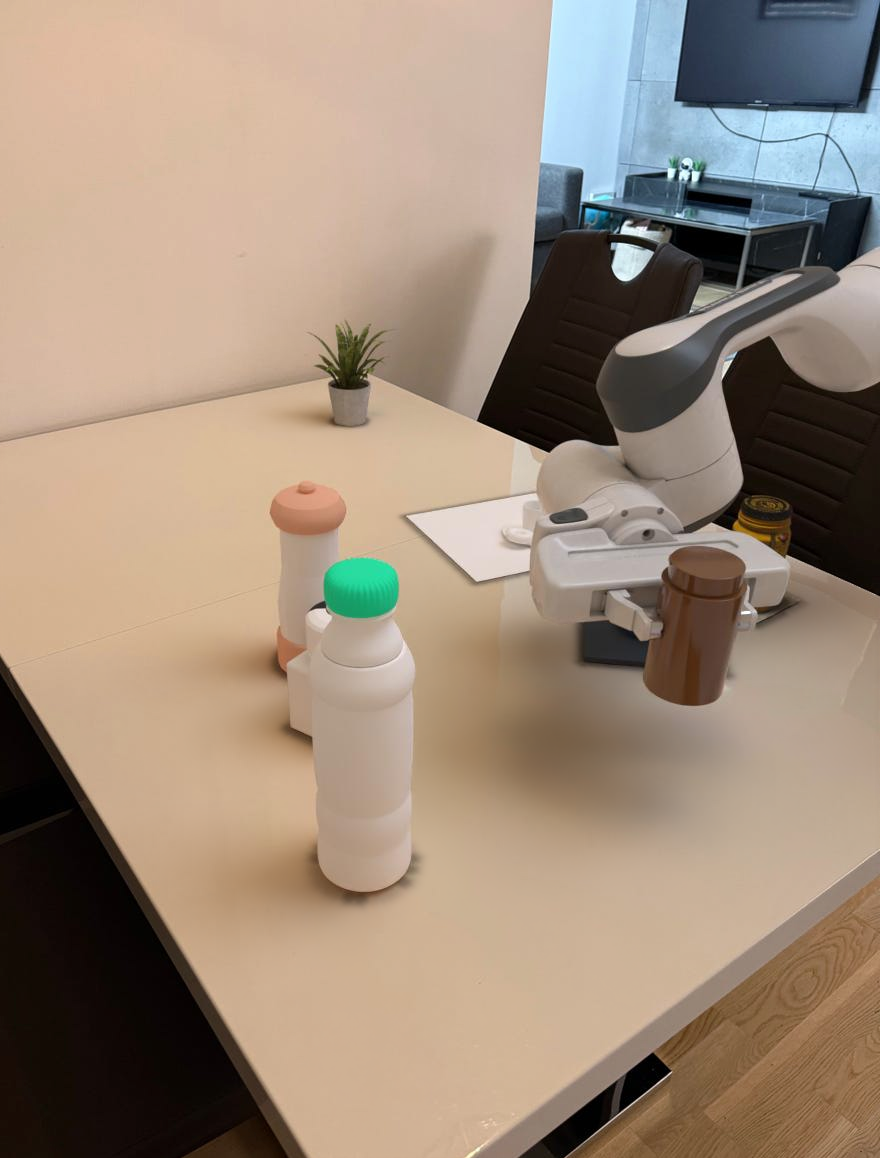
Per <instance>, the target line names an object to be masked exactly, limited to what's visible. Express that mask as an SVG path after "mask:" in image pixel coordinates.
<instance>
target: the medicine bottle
mask: <svg viewBox="0 0 880 1158" xmlns="http://www.w3.org/2000/svg"><path fill="white" fill-rule="evenodd" d="M331 619H332V615H330V613H329V612H328V611H327V608H326V603H325V601H322V602H320V603H317V604H316V605H314V606H313V607H312V608H311V609H310V610H309V611H308V613H307V614H306V638H307V650H306V651H304V652H303V653H301V654H300V655H298V656H297V657H295V658H294V659H292V660H291V661H289V662H288V663H287V665H286V666H287V673H286V679H287V691H288V692H287V695H288V709H289V710H288V711H289V712H288V713H289V725H290V727H291V728H292V729H294V730H296V731H299V732H301V733H303V734H305V735H307V736H309V737H311V738H312V696H313V688H312V686H311V683H310V678H309V666H310V661H311V658H312V655H313V653H314V651H315V649H316V647H317V645H318V643H319V641H320V640H321V637H322V634H323V631H324V629H325V628H326V626H327V625H328V623H329V622H330V621H331Z"/></svg>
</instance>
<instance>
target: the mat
mask: <svg viewBox="0 0 880 1158" xmlns="http://www.w3.org/2000/svg"><path fill="white" fill-rule="evenodd" d="M582 641H583V643H582V645H583V661H584V662H585V663H586V662H587V663H598V664H599V663H600V664H610V665H620V666H621V665H623V666H632V667H643V668H644V667H645V661H646V656H647V651H648V645H649V642H647V641H640V640H638V639H635V638H633V637H631V636H629V635H627V634H626V633H624V632H623V631H622V630H621V628H620V627H619V626H618V625H616V624H613V623H611V622H610V621H609V620H602V621H591V622H582Z"/></svg>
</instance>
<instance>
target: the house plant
mask: <svg viewBox="0 0 880 1158" xmlns="http://www.w3.org/2000/svg"><path fill="white" fill-rule="evenodd" d="M344 322H345V323H344V324H345V326H344V324H343V323H342V322H341V321H339V323H340V325H341V326H342V328H343V331H344V332H343V331H342V329H341V327H340V326H339V325H338V324H337V323H335V335H336V341H337V353H338V354H337V357H336V356H335V355H336V354H334V352H333V351H332V350H331V349H330V347H329V346H328V345H327V344H326V342H324V341H323V340H322V339H321V338H320V337H319V336H317V335H315V334H314V333H312V332H309V331H305V333H307V334H310V335H311V336H313V337H314V338H315V339H317V340H318V342H320V343H321V345H322V346H323V347H324V348H325V349H326V351H327V352H328V354H329V356H330V358H332V360H333V361H334V363H335V365H336V366H337V367H336V366H335V365H334V364H333V363H332V361H331V360H330V359H328V358H326V357H325V356H324V355H322V354H318V356H319V358H321V359H322V361H323V363H324V364H325V365H324V364H314V365H313V367H315V368H317V369H321V370H322V371H324V373H327V374H329V375H330V376H331V378H332V380H329V382H328V383H327V389H328V392H329V393H328V394H329V398H330V405H331V410H332V415H333V419H334V423H335V424H337V425H339V426H345V427H355V426H356V427H357V426H361V425H363V424H365V423H366V419H367V415H368V407H369V399H370V394H371V387H372V383H371V382H370V381H369V379H368V376H369V375H368V374H370V376H372V374H373V372H374V371H375V368H374V367H375V366H376V365H378V363H382V364H383V365H384V366H385V363H384V361H383V360H384V359H388V358H389V356H383V357H380V358H379V359H377V358H370V357H371V355H372V354H373V352H374V351H375V350H376V349H377V348H378V347H379V346H380V345H382V344H384V343H387V342H388V343H389V342H390V340H382V341H381V340H378V338H379V337H380V336H382V335H383V334H385V333H387V332H391V331H395V330H396V328H393V329H384V330H382V331H378V332H377V333H376V334H375V335H373V336H372V338H370V340H369V341H368V342H367V343H366V344H365V342H366V339H367V337H368V335H369V333H370V327H371V325H372V323H369V324H367V325H366V326H365V327H364V328H363V329H362V331H361V333H360V336H359V334H355V336H354V334H353V331H352V328H351V326H350V324H349V323H348V321H347V320H346V318H344ZM345 327H346V328H345ZM346 330H347V331H346ZM373 342H378V343H377V344H375V345H374V346H373V348H372V349H371V350H370V352H369V353H368V355H367V356H366V358H365V360H364V361H363V362H362V364H361V365H359V364H360V363H361V361H362V359H363V357H364V355H365V354H366V352H367V350H368V349H369V348H370V346H371V345H372V344H373ZM364 344H365V345H364ZM369 358H370V359H369ZM372 362H374V363H372ZM370 363H372V365H370V367H367V368H365V367H366V366H367V365H368V364H370ZM326 365H327V366H326ZM365 371H366V372H365Z"/></svg>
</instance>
